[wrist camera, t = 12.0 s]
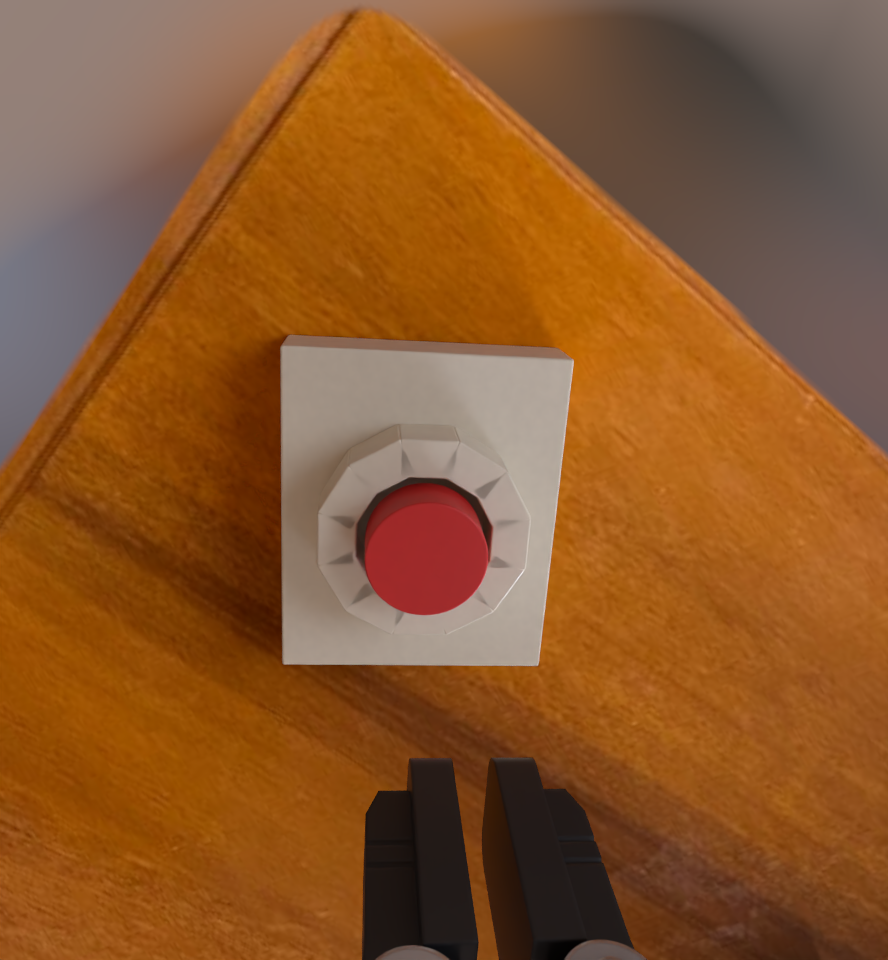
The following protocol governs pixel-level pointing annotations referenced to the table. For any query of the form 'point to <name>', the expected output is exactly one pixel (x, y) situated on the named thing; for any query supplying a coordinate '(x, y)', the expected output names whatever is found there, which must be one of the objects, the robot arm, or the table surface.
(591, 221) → the table surface
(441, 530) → the button
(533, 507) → the button box
